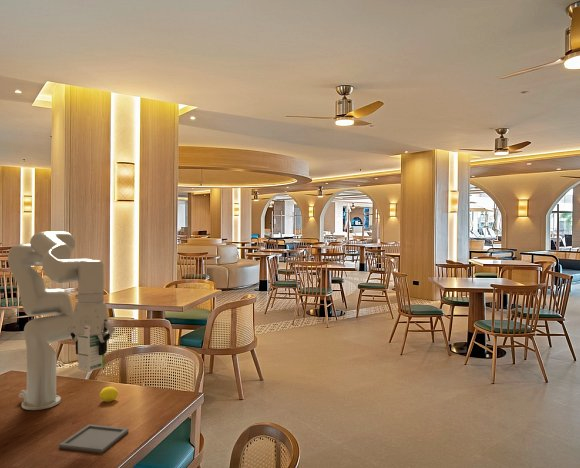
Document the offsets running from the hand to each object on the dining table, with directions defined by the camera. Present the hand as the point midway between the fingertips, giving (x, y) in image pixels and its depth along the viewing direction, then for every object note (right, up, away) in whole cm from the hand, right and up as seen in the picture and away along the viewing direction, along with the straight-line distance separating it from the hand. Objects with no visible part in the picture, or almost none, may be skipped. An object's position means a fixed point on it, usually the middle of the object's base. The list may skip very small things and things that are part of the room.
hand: (91, 353), depth 145 cm
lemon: (-4, -25, +24) cm, 35 cm away
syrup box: (0, -5, 0) cm, 5 cm away
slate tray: (+4, -25, -7) cm, 26 cm away
